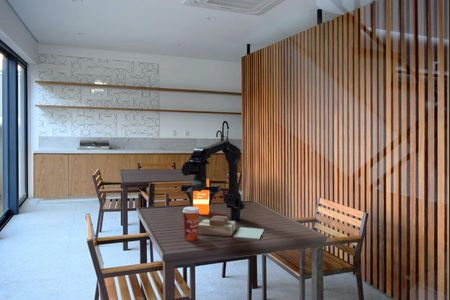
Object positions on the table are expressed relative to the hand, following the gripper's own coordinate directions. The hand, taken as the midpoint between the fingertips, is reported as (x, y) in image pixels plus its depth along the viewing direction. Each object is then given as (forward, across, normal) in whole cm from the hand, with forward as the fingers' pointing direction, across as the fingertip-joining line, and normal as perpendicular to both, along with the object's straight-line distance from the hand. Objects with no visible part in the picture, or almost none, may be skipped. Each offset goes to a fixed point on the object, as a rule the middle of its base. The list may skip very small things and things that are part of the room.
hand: (200, 205), depth 179 cm
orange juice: (+12, -10, +36) cm, 40 cm away
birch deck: (+12, +8, 0) cm, 15 cm away
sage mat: (+12, +24, 0) cm, 27 cm away
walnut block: (+8, +9, 0) cm, 12 cm away
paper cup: (+12, 0, -15) cm, 19 cm away
